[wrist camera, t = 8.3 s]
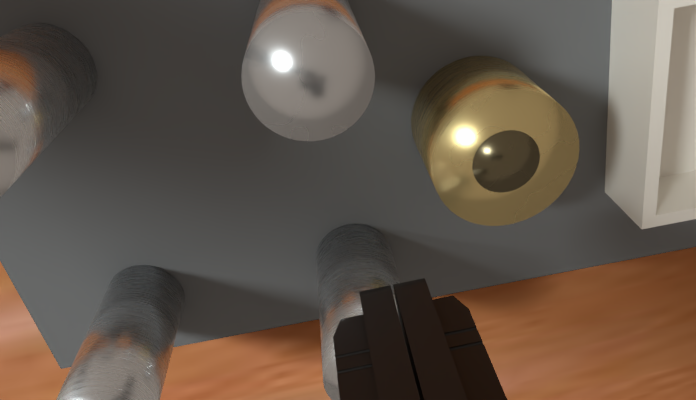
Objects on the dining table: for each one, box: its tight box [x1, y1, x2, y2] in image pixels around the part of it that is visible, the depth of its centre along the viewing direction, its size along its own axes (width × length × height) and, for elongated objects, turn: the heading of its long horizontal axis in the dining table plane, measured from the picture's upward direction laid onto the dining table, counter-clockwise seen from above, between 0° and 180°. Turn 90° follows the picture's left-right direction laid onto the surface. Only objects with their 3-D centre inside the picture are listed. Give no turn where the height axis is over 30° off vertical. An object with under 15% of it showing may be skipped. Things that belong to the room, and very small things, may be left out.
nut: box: [411, 56, 579, 226], centre depth 21 cm, size 5×5×4 cm
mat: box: [0, 0, 696, 369], centre depth 23 cm, size 16×34×1 cm, turn 100°
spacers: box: [0, 0, 400, 400], centre depth 20 cm, size 13×12×7 cm
